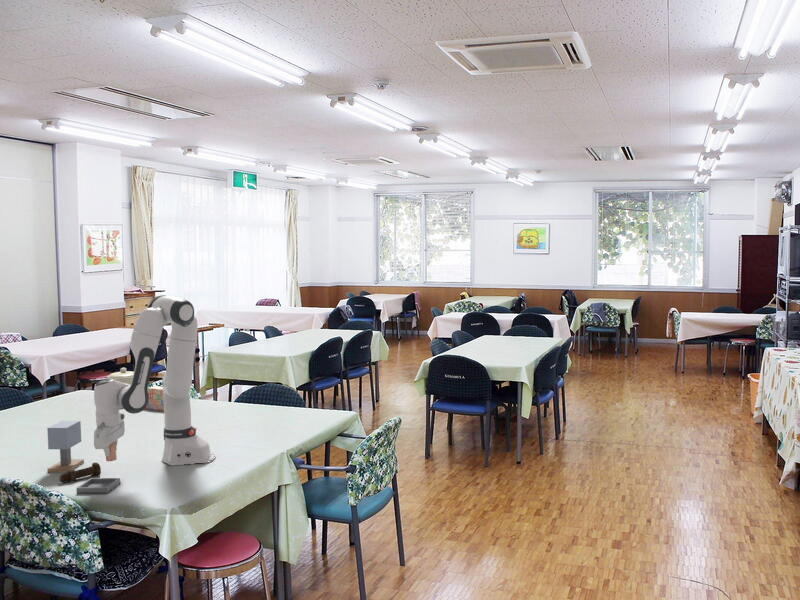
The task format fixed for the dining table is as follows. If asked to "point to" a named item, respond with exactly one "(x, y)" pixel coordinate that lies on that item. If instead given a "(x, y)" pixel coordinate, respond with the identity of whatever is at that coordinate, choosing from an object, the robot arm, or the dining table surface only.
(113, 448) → the peach rounded cylinder
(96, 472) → the bolt
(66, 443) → the mounted unit
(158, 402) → the stack of blocks
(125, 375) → the canister
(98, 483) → the parts tray
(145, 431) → the dining table surface
